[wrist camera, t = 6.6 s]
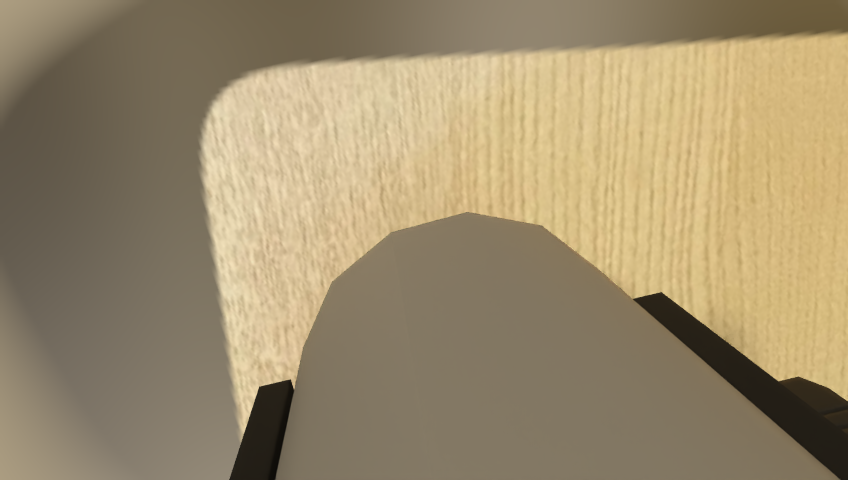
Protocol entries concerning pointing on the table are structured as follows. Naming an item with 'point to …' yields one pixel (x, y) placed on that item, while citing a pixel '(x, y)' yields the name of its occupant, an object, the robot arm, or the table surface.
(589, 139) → the table surface
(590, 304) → the cup
